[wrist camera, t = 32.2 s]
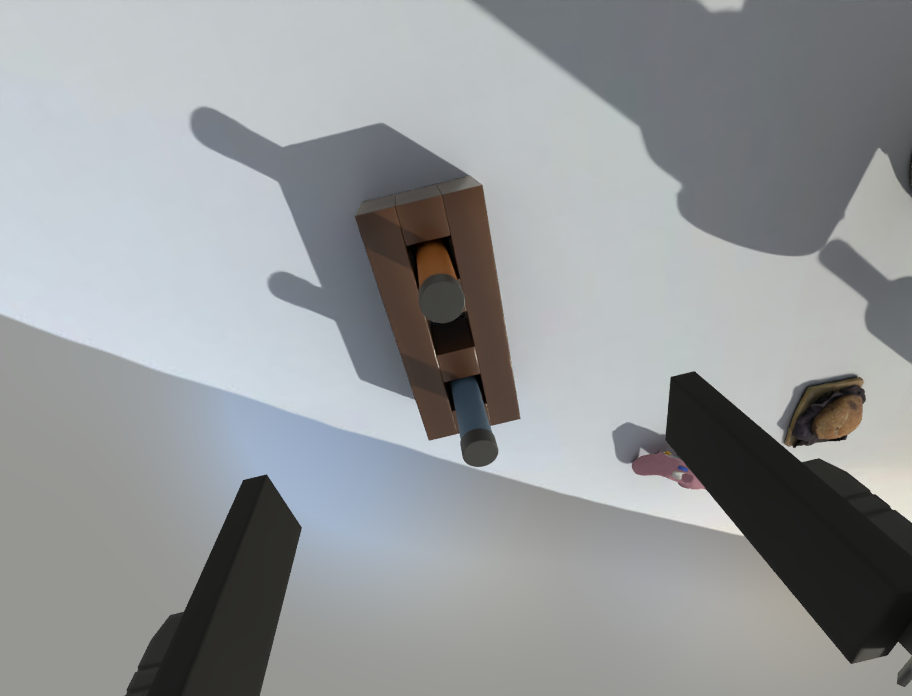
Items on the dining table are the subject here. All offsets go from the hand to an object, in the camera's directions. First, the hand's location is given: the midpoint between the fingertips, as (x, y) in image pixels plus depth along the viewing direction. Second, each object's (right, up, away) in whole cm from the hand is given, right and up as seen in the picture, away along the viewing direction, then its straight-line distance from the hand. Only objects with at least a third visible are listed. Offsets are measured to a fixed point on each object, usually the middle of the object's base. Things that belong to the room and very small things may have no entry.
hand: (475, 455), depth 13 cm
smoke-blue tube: (0, +2, +30) cm, 30 cm away
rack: (-2, +8, +26) cm, 27 cm away
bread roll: (+48, -5, +40) cm, 63 cm away
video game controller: (+28, -11, +41) cm, 51 cm away
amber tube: (-3, +13, +23) cm, 27 cm away
